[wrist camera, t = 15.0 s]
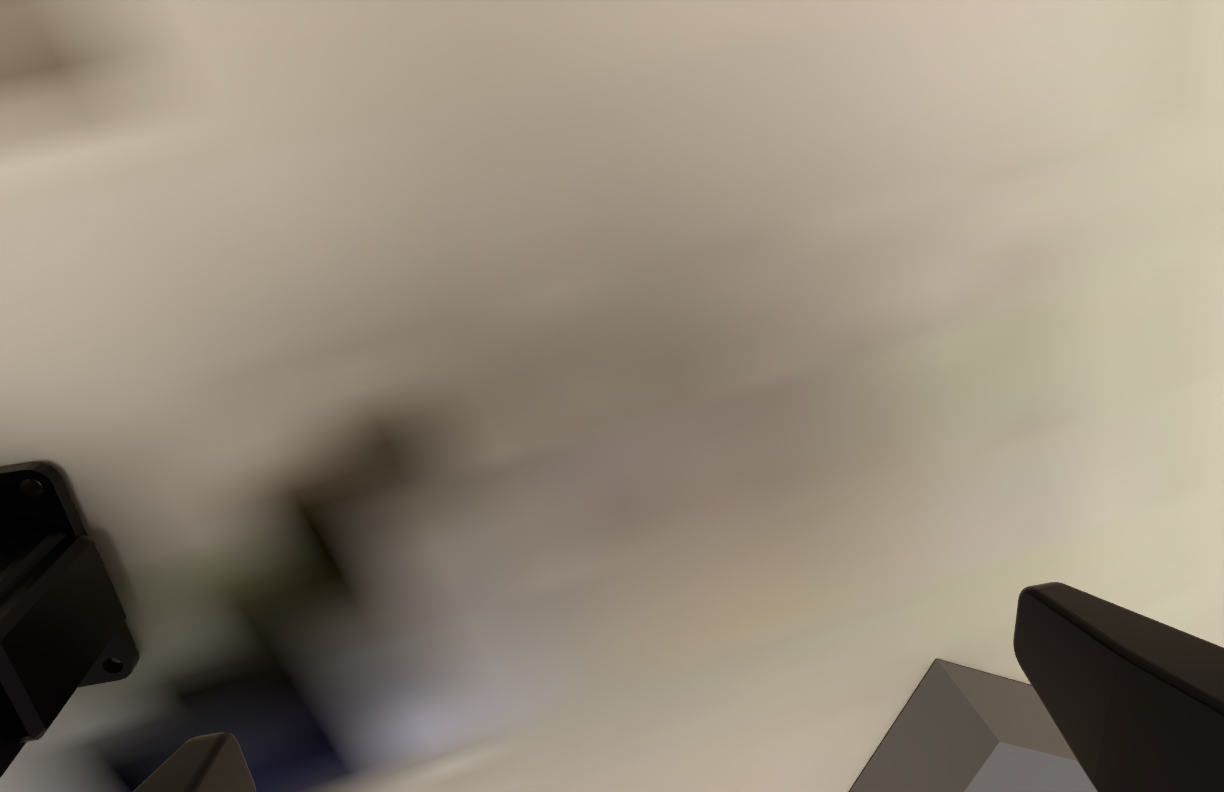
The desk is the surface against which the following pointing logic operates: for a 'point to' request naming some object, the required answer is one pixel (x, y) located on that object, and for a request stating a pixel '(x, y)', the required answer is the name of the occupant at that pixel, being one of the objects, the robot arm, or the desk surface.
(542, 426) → the desk surface
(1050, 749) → the socket block
